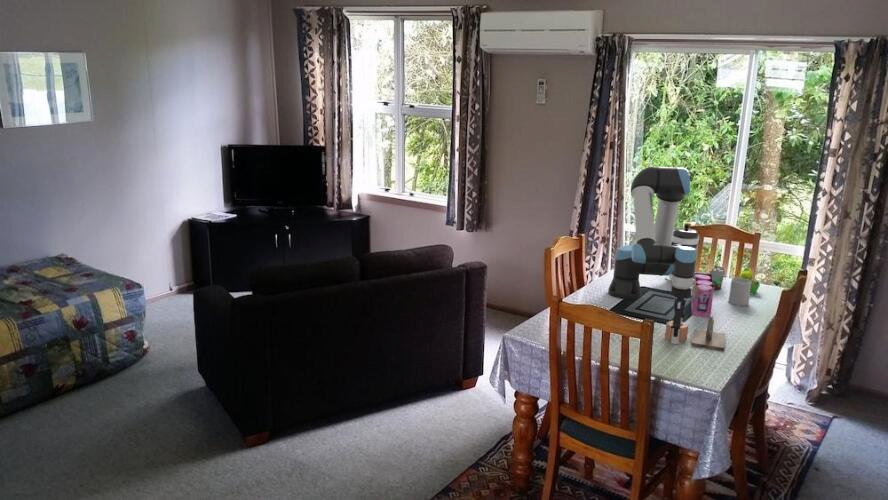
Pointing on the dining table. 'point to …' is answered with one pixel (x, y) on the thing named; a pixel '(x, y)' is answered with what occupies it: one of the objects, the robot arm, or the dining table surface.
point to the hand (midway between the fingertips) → (675, 338)
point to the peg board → (708, 342)
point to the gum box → (702, 295)
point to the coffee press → (685, 240)
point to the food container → (717, 277)
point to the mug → (740, 291)
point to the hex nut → (683, 331)
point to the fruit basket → (748, 275)
